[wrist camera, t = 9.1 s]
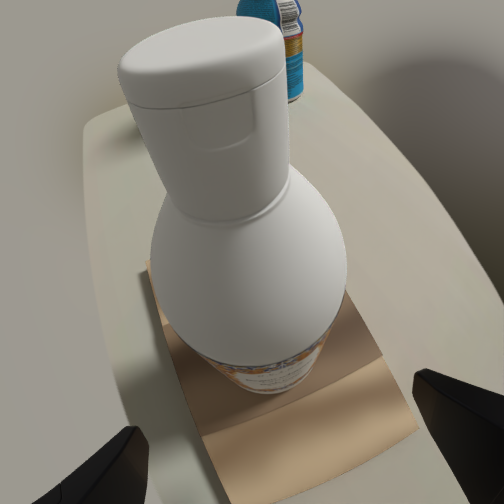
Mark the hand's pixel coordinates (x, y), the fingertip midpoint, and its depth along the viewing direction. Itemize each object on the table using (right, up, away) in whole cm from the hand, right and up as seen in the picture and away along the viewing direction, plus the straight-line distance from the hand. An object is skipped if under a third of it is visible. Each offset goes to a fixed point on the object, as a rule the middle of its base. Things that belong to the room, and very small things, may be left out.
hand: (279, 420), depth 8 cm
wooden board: (0, -2, +14) cm, 14 cm away
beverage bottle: (+3, +28, +33) cm, 43 cm away
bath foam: (0, -2, +13) cm, 13 cm away
